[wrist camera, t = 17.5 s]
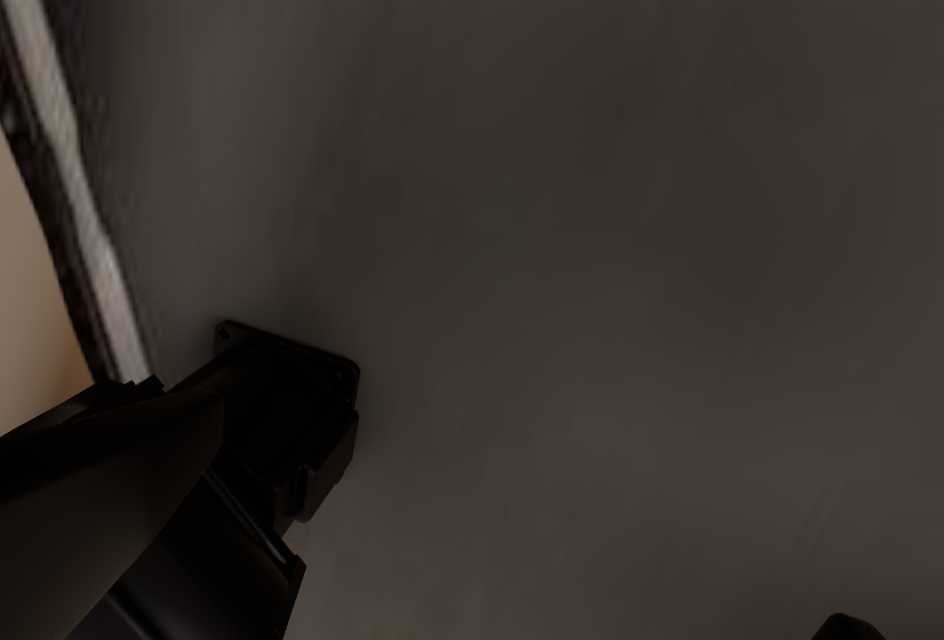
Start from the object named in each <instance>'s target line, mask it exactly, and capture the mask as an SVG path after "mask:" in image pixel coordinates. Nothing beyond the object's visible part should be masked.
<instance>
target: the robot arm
mask: <svg viewBox="0 0 944 640" xmlns="http://www.w3.org/2000/svg"><path fill="white" fill-rule="evenodd" d="M225 330H227V331H228V332H229V334H230V336H229V335H228V334H227V333H226V332H225ZM343 370H347V371H348V372H349V373H350V376H348V375H346V374H345V373H344V371H343ZM359 377H360V369H359V367H358V366H357V365H356V363H355V362H353V361H351V360H348V359H345V358H342V357H339V356H336V355H333V354H330V353H327V352H324V351H321V350H318V349H315V348H312V347H309V346H306V345H303V344H300V343H297V342H294V341H291V340H288V339H285V338H282V337H279V336H276V335H273V334H270V333H267V332H264V331H261V330H258V329H255V328H252V327H249V326H246V325H243V324H240V323H237V322H233V321H230V320H225V321H222V322H221V323H219V324H218V325H216V327H215V328H214V343H213V359H212V360H211V361H209V362H208V363H206V364H205V365H203V366H202V367H201V368H199V369H198V370H196V371H195V372H193V373H192V374H191V375H189V376H188V377H186V378H185V379H183V380H182V381H180V382H179V383H178V384H176V385H175V386H173V387H172V388H170V389H169V390H168V391H166V392H164V390H163V389H162V388H163V387H164V385H163V384H162V383H161V382H160V380H159V379H158V378H157V377H156V375H155V374H153V375H151V376H149V377H148V378H146V379H145V380H143V381H141V382H140V383H138V384H136V385H135V383H134V382H133V381H132V380H131V381H129V382H128V383H126V384H122V383H120V382H117V381H114V380H111V379H108V378H104V379H102V380H101V381H99V382H97V383H95V384H94V385H92V386H90V387H89V388H87V389H85V390H84V391H82V392H80V393H78V394H77V395H75V396H73V397H72V398H70V399H68V400H66V401H65V402H63V403H61V404H60V405H57V406H56V407H54V408H52V409H50V410H48V411H46V412H45V413H43V414H41V415H39V416H37V417H35V418H33V419H32V420H30V421H28V422H26V423H24V424H22V425H21V426H19V427H17V428H15V429H13V430H11V431H10V432H8V433H6V434H5V435H3V436H1V437H0V640H283V637H284V634H285V631H286V628H287V625H288V622H289V619H290V616H291V613H292V610H293V607H294V604H295V601H296V598H297V594H298V591H299V588H300V585H301V582H302V579H303V576H304V573H305V570H306V564H305V563H304V562H303V561H302V559H301V558H300V557H299V556H298V555H294V554H293V553H292V551H291V550H290V549H289V548H288V546H287V545H286V544H285V543H284V541H283V540H282V539H281V538H282V536H283V535H284V534H285V532H286V531H287V530H288V528H289V527H290V525H291V524H292V523H293V521H294V520H295V521H298V522H300V523H305V522H307V521H309V520H310V519H311V518H312V517H313V515H314V514H315V512H316V511H317V509H318V508H319V506H320V505H321V504H322V502H323V501H324V499H325V498H326V496H327V495H328V493H329V492H330V491H331V489H332V488H333V486H334V485H335V484H337V483H338V482H339V481H340V480H341V478H342V476H343V474H344V470H345V469H346V467H347V466H348V465H349V463H350V462H351V460H352V457H353V451H354V445H355V439H356V433H357V427H358V421H359V415H358V412H357V411H356V410H354V408H355V402H356V395H357V389H358V383H359ZM811 640H886V639H885V638H884V637H883V636H882V635H881V634H880V632H879V631H878V630H877V629H876V628H875V627H874V626H873V625H871V624H870V623H868V622H866V621H863V620H860V619H858V618H855V617H852V616H849V615H846V614H843V613H834V614H832V615H830V616H829V617H828V619H827V620H826V621H825V622H824V624H823V625H822V626H821V628H820V629H819V630H818V631H817V633H816V634H815V635H814V637H813V638H812V639H811Z"/></svg>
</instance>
